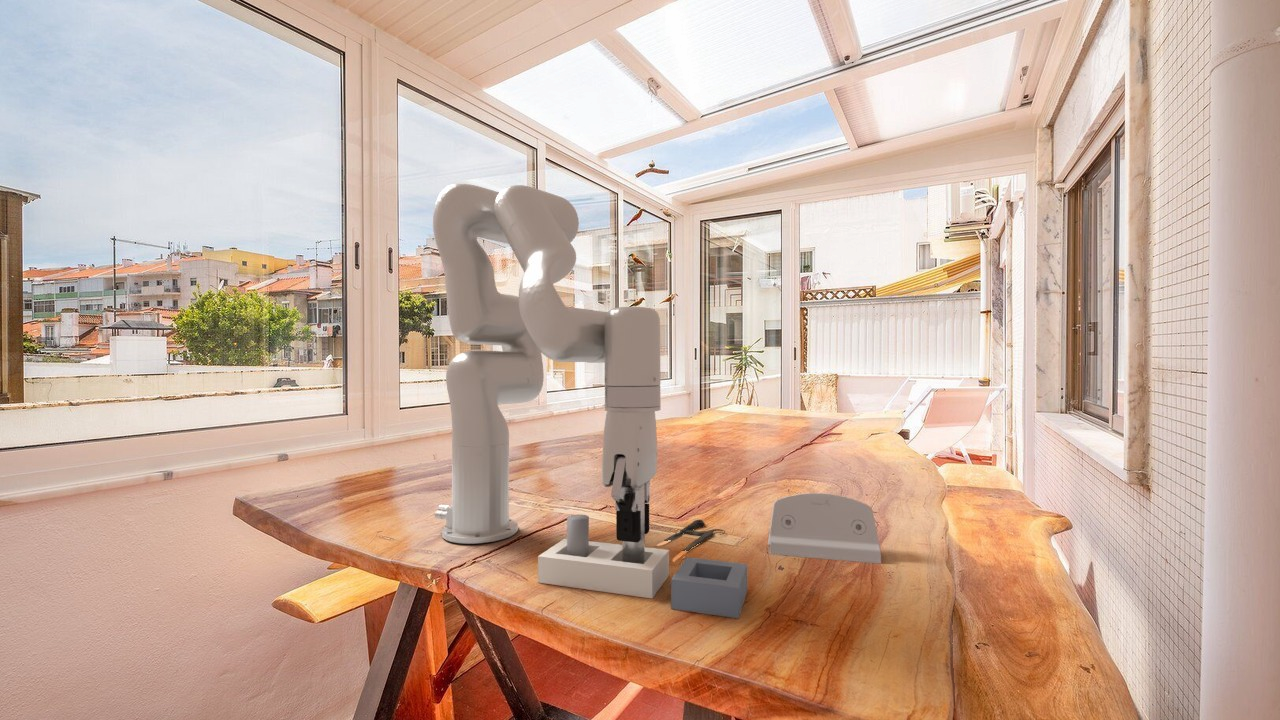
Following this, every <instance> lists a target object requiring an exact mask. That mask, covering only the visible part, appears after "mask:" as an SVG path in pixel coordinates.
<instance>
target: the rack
mask: <svg viewBox="0 0 1280 720" xmlns="http://www.w3.org/2000/svg"><path fill="white" fill-rule="evenodd" d="M589 519H590V517H589V515H587V514H572V515H568V516H567V517H566V538H563V539H561V540H560V541H559V542H557V543H556V544H554V545H552V546H551V547H549V548H548V549H547V550H545V551H544V552H542V553H541V554H539V555H538V556H537V583H539V584H545V585H547V584H548V585H554V586H561V587H566V588H567V587H568V588H575V589H582V590H589V591H597V592H604V593H611V594H616V595H617V594H618V595H624V596H625V595H626V596H630V597H631V596H632V597H638V598H645V599H653V598H654V597H655V595H656V594H657V593H658V591H659V590H660V588H661V587H662V586H663V584H664V583H665V581H666V580H667V579H668V577H669V576H670V562H669V560H670V550H669V549H664V548H655V547H647V546H645V563H644V564H638V563H630V562H622V544H619V543H609V542H599V541H593V540H592V541H591V540H590V538H589V537H590V531H589V530H590V526H589V525H590V520H589Z"/></svg>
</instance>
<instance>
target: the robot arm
mask: <svg viewBox="0 0 1280 720" xmlns="http://www.w3.org/2000/svg"><path fill="white" fill-rule="evenodd" d="M434 204H435V205H434V209H433V214H432V215H433V216H432V227H433V228H432V230H433V235H434V240H435V244H436V247H437V250H438V254H439V257H440V260H441V264H442V267H443V273H444V285H445V292H446V302H447V303H446V304H447V310H448V311H447V312H448V320H449V325H450V329H451V333H452V335H453V337H454V338H455V340H456V341H458V342H462V343H464V344H469V345H479V346H480V345H481V346H484V345H485V346H487V345H488V346H501V349H502V350H501V351H500V350H469V351H465V352H461V353H459V354H458V355H455V356H454V357H453V358H452V359H451V361H450V362H449V363H448V365H447V368H446V373H445V381H446V382H445V384H446V389H447V393H448V400H449V405H450V406H449V407H450V412H451V413H450V415H451V451H452V452H451V505H447V504H440V505H439V506H438V508H437V510H436V511H435V513H434V518H435V519H438V520H439V519H440V520H446V522H445V523H446V524H445V526H444V527H443V528H442V530H441V537H442V538H443V539H445V541H447V542H451V543H454V544H465V545H466V544H467V545H470V544H473V545H474V544H485V543H493V542H497V541H498V542H499V541H501V540H502V541H503V540H505V539H507V538H510V537H512V536H514V535H515V534H516V533H517V532H518V530H519V523H518V522H517V521H516V520H514V519H512V518H510V517H509V516H510V513H509V512H510V511H509V509H510V508H509V507H510V501H509V500H510V495H509V493H510V489H509V488H510V432H509V430H510V429H509V425H508V423H507V421H506V418H505V416H504V415H503V413H502V412H501V410H500V408H499V406H500V405H509V404H511V405H512V404H523V403H528V402H531V401H533V400H535V399H536V398H537V397H538V396H539V395H540V393H541V392H542V389H543V386H544V378H545V377H544V374H545V373H544V364H543V357H542V356H543V355H544V356H545V357H546V358H547V359H549V360H552V361H555V362H557V363H591V364H592V363H595V364H597V363H598V364H599V363H601V364H604V411H606V413H605V414H606V415H605V421H604V428H603V436H602V437H603V439H602V440H603V441H602V459H601V461H602V462H601V484H602V485H603V486H604V487H605V488H611V492H610V495H611V496H610V497H611V499H613V500H614V501H615V506H614V507H615V508H614V509H615V513H616V514H615V517H616V523H615V524H616V528H615V529H616V530H615V531H616V533H615V534H616V536H615V537H616V540H617V541H618V542H619V541H620V542H622V541H626V542H636V543H637V542H639V541H640V540H641V511H638V491H639V487H640V486H641V485H643V484H644V504H645V535H647V534H649V532H650V504H649V503H650V501H651V500H650V498H651V497H650V496H651V495H650V485H651V484H650V482H651V480H652V479H654V477H656V475H657V470H658V440H657V439H658V437H657V419H656V412H659V411H661V408H662V407H661V403H662V402H661V317H660V314H659V313H658V312H657V311H656V310H655V309H653V308H651V307H645V306H621V307H620V306H619V307H614V308H612V309H611V308H610V310H608V311H601V310H594V309H590V308H589V309H588V308H580V307H569V306H567V305H565V303H564V302H563V300H562V298H561V297H560V295H559V293H558V291H557V289H556V287H555V286H554V284H556V283H558V282H560V281H561V280H562V279H564V278H565V277H566V276H568V275H569V274H570V273H571V272H572V271H573V269H574V267H575V265H576V262H577V253H576V250H575V247H574V246H573V244H572V242H573V241H574V239H575V238H576V236H577V234H578V232H579V231H578V230H579V225H580V223H579V221H580V220H579V216H578V212H577V211H576V208H575V206H574V205H573V204H572V203H571V202H570V201H569V200H567V199H566V198H564V197H562V196H559V195H556V194H554V193H550V192H547V191H544V190H541V189H539V188H535V187H532V186H529V185H524V184H523V185H522V184H515V185H511V186H507V187H505V188H503V189H502V190H501V191H500V192H499V191H497V190H493V189H489V188H485V187H482V186H479V185H475V184H474V185H473V184H470V183H469V184H468V183H455V184H450V185H447V186H446V187H445V188H444V189H442V190H441V192H440V193H439V195H438V197H437V199H436V201H435V203H434ZM478 238H481V239H486V240H489V241H494V242H499V243H504V244H508V245H509V247H510V248H511V250H512V251H513V254H514V255H515V257H516V258H515V259H517V261H518V264H519V265H520V267H521V268H522V271H523V275H522V277H521V280H520V284H519V289H518V295H512V294H505V293H500V292H499V291H498V289H497V285H496V281H495V280H496V279H495V270H494V267H493V264H492V262H491V259H490V258H489V255H488V254H487V252H486V251H485V250H484V248H483V247H482V245H481V244H480V243H479V242H478ZM625 482H631V483H630V485H631V486H625ZM611 486H612V487H611ZM626 492H632V498H631V496H630V494H628V493H626Z"/></svg>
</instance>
